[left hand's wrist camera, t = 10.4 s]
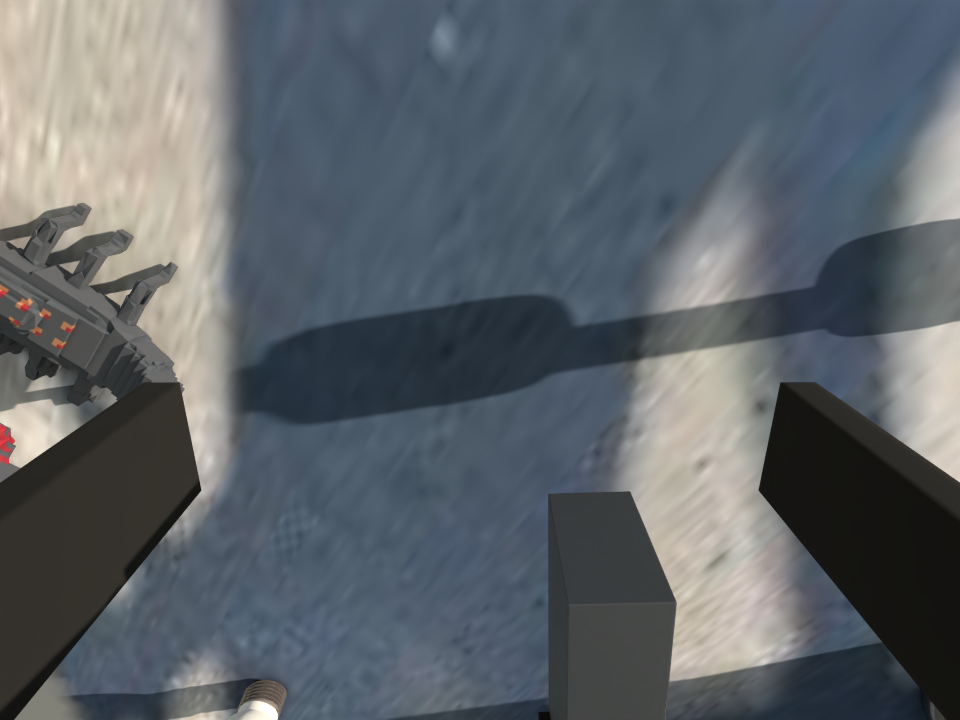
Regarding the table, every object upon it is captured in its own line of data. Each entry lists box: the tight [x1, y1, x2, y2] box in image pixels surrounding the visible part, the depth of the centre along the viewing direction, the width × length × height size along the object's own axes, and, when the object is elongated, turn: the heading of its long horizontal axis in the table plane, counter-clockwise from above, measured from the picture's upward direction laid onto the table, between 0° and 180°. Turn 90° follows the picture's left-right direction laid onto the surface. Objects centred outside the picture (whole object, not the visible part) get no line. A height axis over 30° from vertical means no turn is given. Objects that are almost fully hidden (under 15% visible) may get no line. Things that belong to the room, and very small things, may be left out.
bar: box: [548, 492, 677, 720], centre depth 31 cm, size 21×5×8 cm, turn 2°
